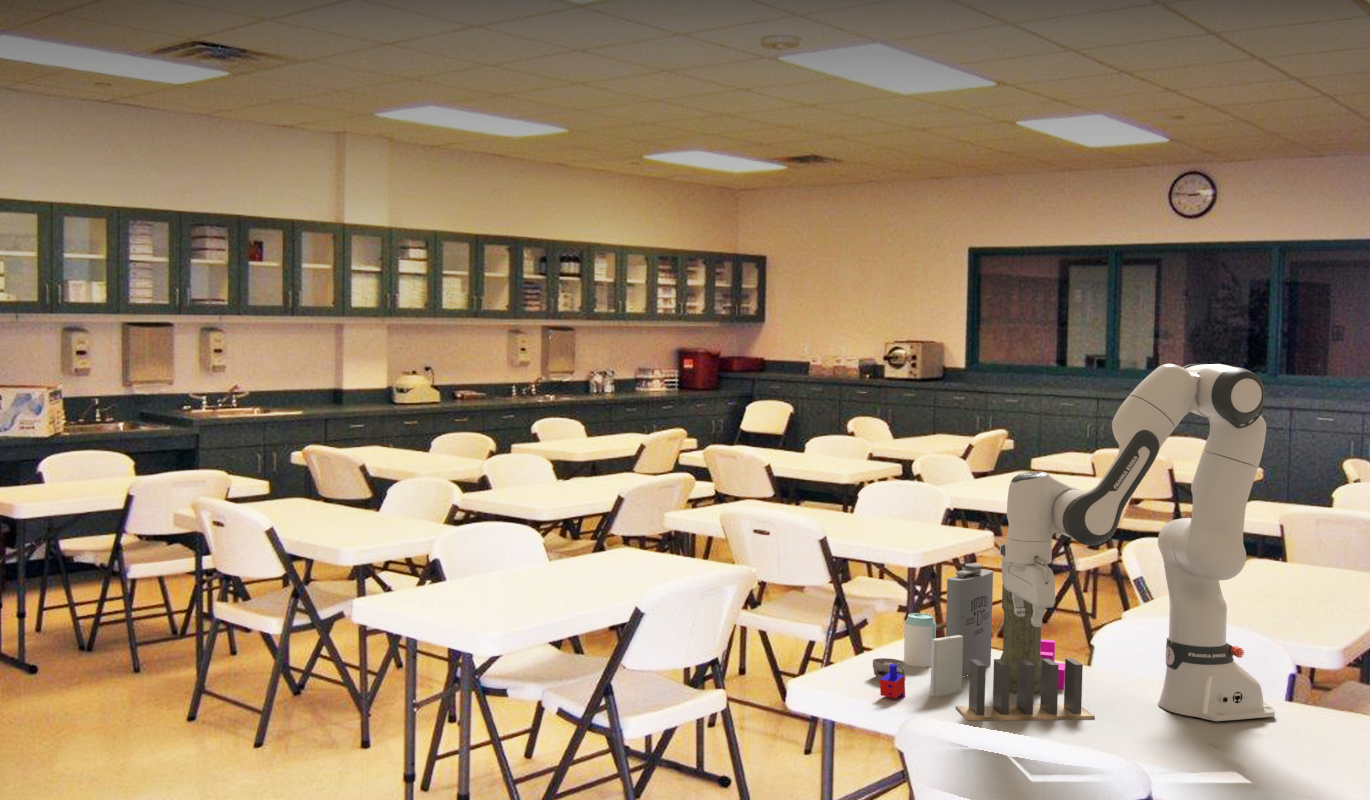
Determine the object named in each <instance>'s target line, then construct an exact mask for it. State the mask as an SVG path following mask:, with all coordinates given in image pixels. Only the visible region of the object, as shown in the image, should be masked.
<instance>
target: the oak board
mask: <svg viewBox="0 0 1370 800" xmlns="http://www.w3.org/2000/svg"><path fill="white" fill-rule="evenodd" d="M955 709H956V710H957V711H958V712H959V713H960V714H961V715H962V716H963V717H964V718H965V719H966V721H1020V720H1021V721H1027V720H1029V721H1030V720H1036V721H1037V720H1041V721H1042V720H1095V719H1096V716H1095V714H1093V713H1091V712H1090V711H1089V710H1087V709H1086V708H1085V707H1083V706H1082V705H1081V714H1073V713H1072V712H1070V711H1069V710H1067V709H1066V708H1065V707H1064V704H1057V714H1048V713H1047V712H1046V711H1045V710H1043V709H1042V708H1041V707H1040V704H1033V714H1031V715H1025V714H1024V713H1023V712H1021V711H1020V710H1019V709H1018V708H1016V705H1013V704H1012V705H1010V704H1009V715H1000V714H999V713H998V712H997V711H996V710H995V709H993V705H985V711H984V715H976V714H975V713H974V712H972V711H971V710H970V709H969V705H955Z"/></svg>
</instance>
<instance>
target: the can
mask: <svg viewBox="0 0 1370 800" xmlns="http://www.w3.org/2000/svg"><path fill="white" fill-rule="evenodd" d="M936 631H937V623H936V621H935V619H934V615H932V614H929V613H922V612H921V613H919V612H914V613H909V614H908V615H907V618H906V620H904V636H903V637H904V639H903V640H904V643H903V645H904V648H903V663H904V664H907V665H909V666H915V667H920V666H922V667H923V666H924V668H926V667H925V666H928V667H931V654H932V639H936V638H937V637H936V634H937V632H936Z"/></svg>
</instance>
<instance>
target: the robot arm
mask: <svg viewBox="0 0 1370 800" xmlns="http://www.w3.org/2000/svg"><path fill="white" fill-rule="evenodd" d="M1264 403H1265V388H1264V384H1263V382H1262V379H1261V377H1259V376H1258V375H1256V373H1254V372H1252V371H1251V370H1249V369H1246V368H1244V367H1238V366H1237V367H1236V366H1231V365H1228V364H1222V363H1214V364H1213V363H1212V364H1208V363H1207V364H1206V363H1197V362H1196V363H1191V364H1187V365H1184V366H1181V365H1177V364H1173V363H1165V364H1161V365H1160V366H1159V365H1158V366H1157V367H1156V368H1155V369H1154V370H1152V372H1150V373H1149V374H1148V375H1147V376H1146V377H1145V378H1144V379H1143V380H1142V381H1141V382H1140V383H1138V385H1137V386H1136V387H1135V388H1134V389H1133V391H1132V392H1131V393H1129V395H1128V396H1127V397H1126V399H1125V400H1124V401H1123V402H1122V404H1121V405H1120V406H1119V408H1118V409H1117V411H1116V412H1115V415H1114V417H1113V419H1112V421H1111V428H1112V434H1113V436H1114V439H1115V441H1116V442H1117V443H1118V447H1119V449H1118V453H1117V455H1116V458H1115V459H1114V461H1113V462H1112V464H1111V465H1110V466H1109V468H1108V469H1107V471H1106V473H1104V475H1103V477H1102V478H1101V479H1100V481H1099V482H1098V484H1097V485H1096V486H1095V487H1094V488H1092V489H1090V490H1087V491H1085V490H1082V489H1078V488H1076V487H1073V486H1070V485H1067V484H1065V483H1063V482H1061V481H1059V480H1057V479H1055V478H1054V477H1052V476H1051V475H1050V474H1049V473H1048V472H1045V471H1028V472H1023V473H1019V474H1017V475H1016V476H1014V477H1013V478H1012V479H1011V480H1010V482H1009V486H1008V492H1007V500H1006V501H1007V503H1006V504H1007V505H1006V518H1007V522H1008V529H1007V533H1006V541H1005V542H1004V543H1002V544H1000V546H999V554H1000V556H1001V557H1002V558H1001V575H1002V576H1001V577H1002V579H1001V580H1002V586H1003V585H1004V588H1005V589H1006V590H1008V591H1009V592H1011V593H1012V600H1013V604H1014V614H1015V615H1016V616H1018V617H1024V616H1025V608H1024V603H1023V599H1024V600H1025V601H1027V602H1029V603H1031V604H1033V608H1032V609H1033V617H1031V625H1033V626H1034V627H1041V628H1042V626H1043V618H1044V615H1045V612H1046V609H1047V608H1054V606H1055V604H1056V584H1055V581H1056V580H1055V575H1054V572H1053V569H1052V568H1050V567H1049V565H1048V564H1050V563H1052V556H1053V554H1052V553H1053V552H1052V551H1053V550H1052V549H1053V548H1052V547H1053V535H1054V534H1056V533H1057V534H1062V535H1063V536H1065V537H1068V538H1072V539H1073V540H1074V541H1076V542H1077V543H1080V544H1082V545H1085V546H1092V547H1093V546H1099V545H1101V544H1103V543H1106V542H1107V541H1108V540H1110V539H1111V538H1112V537H1113V535H1114V534H1116V533H1115V532H1116V531H1117V529H1118V527H1119V523H1120V520H1121V517H1122V513H1123V511H1124V508H1125V507H1126V505H1127V503H1128V501H1130V498H1131V497H1132V495H1133V494H1134V493H1135V491H1136V490H1137V488H1138V486H1139V485H1140V484H1141V482H1142V481H1143V479H1144V478H1145V476H1146V475H1147V473H1148V471H1149V470H1150V468H1151V467H1152V465H1153V464H1154V462H1155V460H1156V458H1157V456H1158V454H1159V452H1160V449H1162V446H1163V445H1164V443H1165V442H1166V441H1167V439H1168V438H1169V436H1171V434H1172V433H1173V432H1174V430H1175V429H1176V428H1177V427H1178V425H1179V424H1180V422H1182V419H1184V417H1186V415H1188V414H1192V415H1196V416H1197V415H1198V416H1201V417H1203V418H1208V421H1209V422H1208V423H1209V434H1208V436H1207V439H1206V442H1205V444H1204V447H1203V449H1202V452H1201V456H1200V459H1199V461H1198V465H1197V468H1196V470H1195V473H1194V477H1193V479H1192V482H1191V486H1190V487H1191V488H1190V489H1191V495H1192V509H1191V517H1183V518H1178V519H1177V518H1176V519H1172V520H1170V521H1168V522H1166V524H1164V526H1163V527H1162V528H1161V529H1160V531H1159V533H1158V536H1157V546H1158V550H1159V551H1160V554H1161V556H1162V559H1163V566H1164V574H1165V580H1166V585H1167V590H1168V592H1167V593H1168V600H1169V614H1168V616H1169V618H1168V619H1169V621H1168V622H1169V625H1168V626H1169V627H1168V637H1166V645H1165V648H1166V649H1165V665H1166V668H1165V669H1166V671H1165V675H1164V676H1165V677H1164V682H1163V688H1162V690H1161V693H1160V697H1159V699H1158V702H1157V704H1158V706H1159V707H1160V708H1161V709H1163V710H1165V711H1168V712H1171V713H1174V714H1179V715H1182V716H1188V717H1194V718H1200V719H1204V720H1208V721H1212V722H1222V721H1223V722H1224V721H1236V720H1237V721H1238V720H1248V719H1259V718H1262V719H1263V718H1271V717H1275V716H1276V713H1275V708H1273V707H1272V706H1271V705H1270V704H1268V703H1266V702H1264V696H1263V695H1264V694H1263V691H1262V690H1263V689H1262V687H1261V683H1259V681H1258V680H1257V679H1256V678H1255V677H1254V676H1252V675H1251V674H1250V673H1249V672H1248V671H1246V670H1245V669H1244V668H1243V667H1242V666H1240V665H1239V664H1238V663H1236V661H1235V660H1234V656H1235V657H1237V658H1239V659H1240V658H1243V656H1244V655H1245V650H1244V649H1243V648H1241V647H1239V646H1237V645H1235V646H1233V645H1231V644H1230V643H1228V642H1227V622H1228V621H1227V619H1228V617H1227V614H1228V607H1227V602H1226V600H1225V598H1224V596H1223V592H1222V588H1221V583H1220V581H1227V580H1231V579H1233V578H1235V577H1236V576H1238V575H1239V574H1240V573H1241V572H1242V571H1243V570H1244V567H1245V565H1246V561H1247V551H1246V547H1245V544H1244V528H1245V517H1246V516H1245V515H1246V508H1247V504H1248V500H1249V497H1250V494H1251V491H1252V487H1253V484H1254V482H1255V478H1256V475H1257V473H1258V469H1259V467H1260V466H1259V465H1260V463H1261V459H1262V455H1263V451H1264V447H1265V442H1266V434H1267V423H1266V420H1265V419H1264V417H1263V416H1262V413H1263V406H1264Z"/></svg>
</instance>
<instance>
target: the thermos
mask: <svg viewBox="0 0 1370 800" xmlns="http://www.w3.org/2000/svg"><path fill="white" fill-rule="evenodd" d="M1001 586H1002V589H1001V590H1002V592H1001V609H1002V611H1003V637H1002V643H1003V644H1002V653H1001V655H1000V658H999V659H1002V660H1003V661H1005V662H1006V663H1008V664H1009V665H1010V687H1009V694H1011V693H1012V694H1015V695H1017V668H1018V659H1026V660H1028V661H1029V662H1031V663H1032V664H1034V694H1033V696H1035V695H1038V694H1041V662H1042V657H1041V654H1040V652H1041V639H1042V626H1041V627H1034V626H1033V625H1031V617H1033V609H1032V608H1033V604H1031V603H1029V602H1027V601H1025V600H1024V599H1023V603H1024V608H1025V616H1024V617H1018V616H1016V615H1015V614H1014V604H1013V600H1012V593H1011V592H1009V591H1008V590H1006V589H1005V588H1004V585H1003V584H1002V585H1001Z"/></svg>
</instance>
